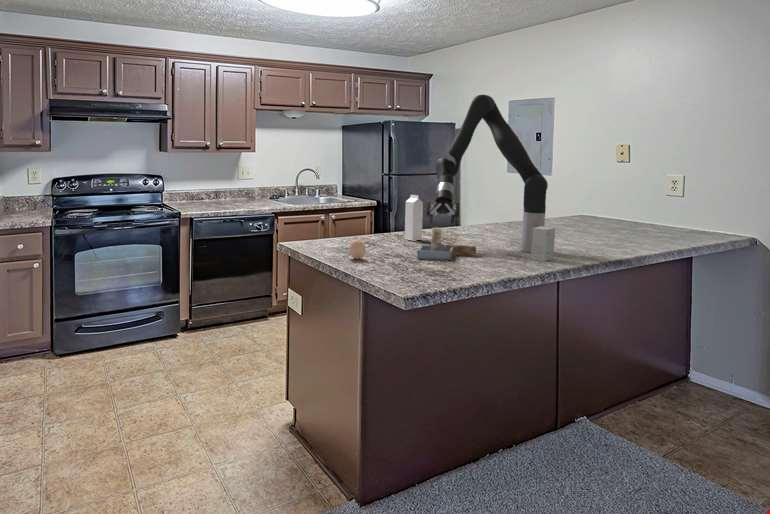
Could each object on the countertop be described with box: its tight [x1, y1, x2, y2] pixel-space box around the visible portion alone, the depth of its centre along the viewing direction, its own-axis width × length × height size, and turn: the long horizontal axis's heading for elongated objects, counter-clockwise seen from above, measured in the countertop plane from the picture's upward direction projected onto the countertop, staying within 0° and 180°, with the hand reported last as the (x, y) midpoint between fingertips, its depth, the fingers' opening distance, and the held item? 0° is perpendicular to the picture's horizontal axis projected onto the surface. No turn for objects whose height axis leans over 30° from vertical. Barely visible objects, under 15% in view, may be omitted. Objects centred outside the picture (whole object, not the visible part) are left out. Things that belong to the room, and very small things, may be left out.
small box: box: [530, 225, 556, 262], centre depth 231 cm, size 8×6×13 cm
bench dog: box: [446, 244, 477, 257], centre depth 238 cm, size 12×3×4 cm, turn 79°
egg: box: [348, 239, 367, 260], centre depth 225 cm, size 7×7×8 cm
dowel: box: [430, 227, 442, 251], centre depth 232 cm, size 4×4×11 cm
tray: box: [417, 244, 454, 262], centre depth 233 cm, size 13×13×4 cm
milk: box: [404, 194, 424, 241], centre depth 273 cm, size 6×6×22 cm
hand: (441, 223), depth 242 cm, fingers open, 8 cm apart
